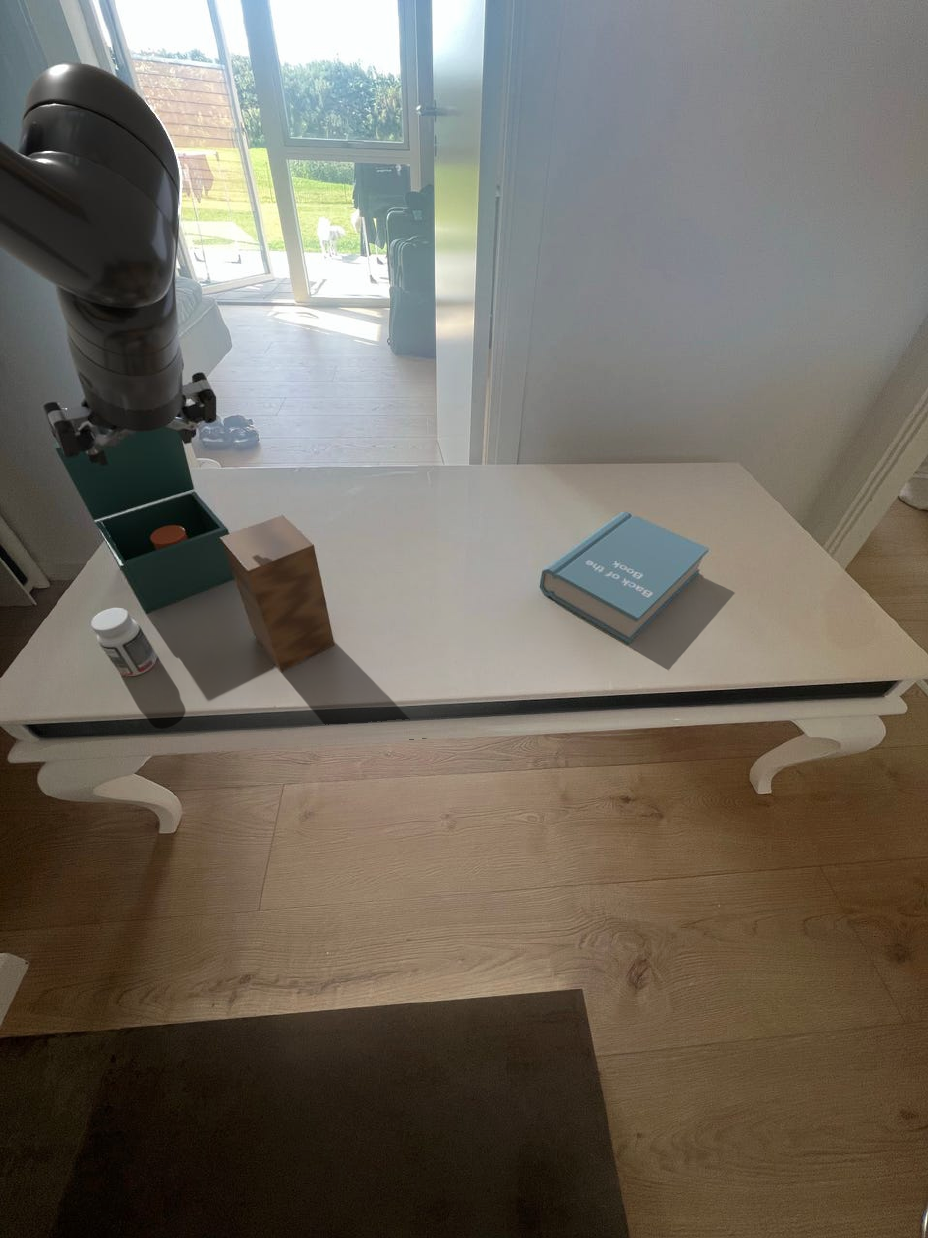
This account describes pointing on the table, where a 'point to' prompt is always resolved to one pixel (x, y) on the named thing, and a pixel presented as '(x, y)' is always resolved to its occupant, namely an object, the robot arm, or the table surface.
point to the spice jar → (168, 536)
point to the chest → (168, 550)
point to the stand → (280, 590)
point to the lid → (131, 472)
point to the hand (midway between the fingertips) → (142, 446)
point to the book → (623, 574)
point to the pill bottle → (123, 641)
